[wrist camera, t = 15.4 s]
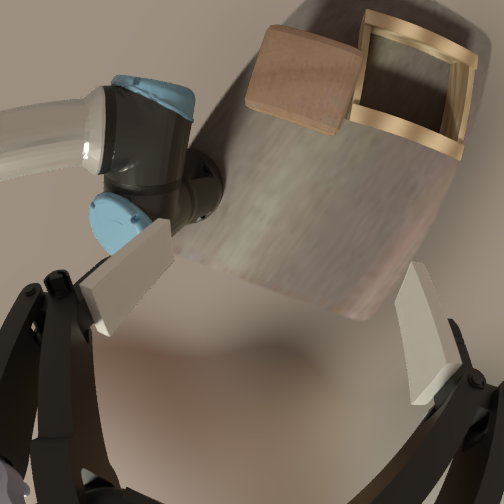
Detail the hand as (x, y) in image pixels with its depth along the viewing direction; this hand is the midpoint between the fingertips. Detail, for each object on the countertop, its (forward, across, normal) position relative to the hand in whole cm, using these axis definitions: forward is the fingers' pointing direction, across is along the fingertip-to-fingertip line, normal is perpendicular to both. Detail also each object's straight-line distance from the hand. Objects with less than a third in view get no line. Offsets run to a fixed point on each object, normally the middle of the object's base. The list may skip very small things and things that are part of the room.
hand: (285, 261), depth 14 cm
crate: (+36, +14, +15) cm, 41 cm away
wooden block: (+35, -1, +11) cm, 37 cm away
